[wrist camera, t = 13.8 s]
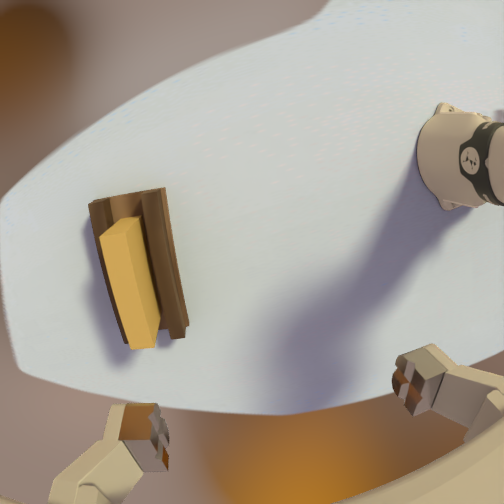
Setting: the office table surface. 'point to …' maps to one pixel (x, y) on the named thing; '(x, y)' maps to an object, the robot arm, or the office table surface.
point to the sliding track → (159, 248)
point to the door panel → (132, 280)
